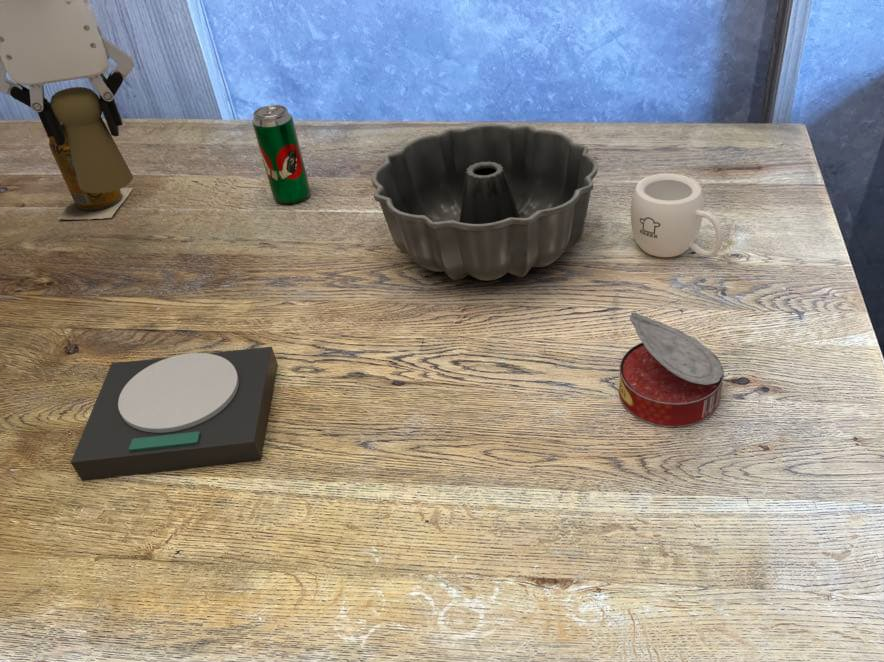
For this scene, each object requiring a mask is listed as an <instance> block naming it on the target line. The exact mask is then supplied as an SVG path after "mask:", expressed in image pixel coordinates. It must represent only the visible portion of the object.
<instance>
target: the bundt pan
mask: <svg viewBox="0 0 884 662" xmlns="http://www.w3.org/2000/svg"><path fill="white" fill-rule="evenodd" d="M588 150H589V147H588V145H586V144H582V143H578V142H574V140H573V139H572V138H571V137H570V136H568V135H567V134H565V133H562V132H559V131H557V130H556V131H555V130H551V129H549V130H548V129H538V128H536V127H533V126H532V125H529V124H523V125H520V124H519V125H508V124H501V123H500V124H499V123H483V124H477V125H470V126H467V127H464V128H456V127H455V128H454V127H451V128H450V127H449V128H446V129H444V130H442V131H441V132H439V133H433V134H428V135H424V136H420V137H417V138H414V139H412V140H410V141H408V142H406V143H405V144H404V145H402V146H401V147H400V148H399V150H396V151H393V152H390V153H386V154H385V155H384V156H383V163H382V164H380V165H379V166H378V167H376V168H375V169H374V170H373V172H372V174H371V183H372V186H373V188H374V189H375V190H374V192H373V199H374V200H375V201H376V202H379V206H380V208H381V211H382V214H383V217H384V219H385V222H386V224H387V228H388V230H389V233H390V235H391V239H392V240H393V243H394V244H395V246H396V248H398V250H400V251H401V252H402V253H403V254H405V255H407V256H409V257H410V258H411V259H412V260H413V261H414V262H415V263H416V264H417V265H419V266H420V267H422V268H424V269H425V270H428V271H432V272H444V273H445V274H446V275H447V277H449V278H450V279H452V280H456V281H458V280H462V279H464V278H465V277H467V276H471V277H472V278H473V279H477V280H480V281H494V280H497V279H500V278H502V277H504V276H505V275H506V274H507V273H508V274H511V275H513V276H515V277H518V278H523V277H525V276H526V275H527V274H528V273H529V271H530V270H531V269H532V268H543V267H546V266H548V265H552V264H553V263H555V261H557V260H558V259H559V258H560V257H561V256H562V255H563V253H565V252H567V251H569V250H570V249H572V248H573V247H575V246H576V245H577V244H578V243H579V241H580V239H582V238H581V237H582V236H583V233H584V229H585V223H586V217H587V215H588V209H589V204H590V198H591V191H593V190H594V182H593V180H594V179H595V177H596V176H597V174H598V168H599V167H598V165H599V164H598V162H597V160H596V159H595V158H594V157H593V156H592V155H591V154H589V151H588Z"/></svg>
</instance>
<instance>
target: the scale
mask: <svg viewBox="0 0 884 662" xmlns="http://www.w3.org/2000/svg"><path fill="white" fill-rule="evenodd" d="M277 370H278V361H277V358H276V355H275V352H274V349H273V347H272V346H264V347H256V348H246V349H244V348H243V349H236V350H225V351H217V352H215V351H214V352H207V353H206V352H192V353H182V354H177V355H173V356H169V357H159V358H150V359H149V358H148V359H141V360H140V359H139V360H130V361H129V360H128V361H121V362H120V361H119V362H112V363H111V364H110V366H109V369H108V371H107V373H106V376H105V378H104V381H103V382H102V385H101V388H100V390H99V392H98V395H97V397H96V400H95V402H94V405H93V407H92V409H91V412H90V415H89V417H88V419H87V422H86V424H85V427H84V429H83V431H82V433H81V436H80V439H79V441H78V444H77V446H76V448H75V451H74V453H73V455H72V458H71V460H70V464H71V466H72V467H73V469H74V470H75V472H76V474H77V475H78V477H79V478H80V480H81V481H88V480H99V479H108V478H115V477H124V476H134V475H142V474H151V473H159V472H160V473H161V472H167V471H168V472H169V471H176V470H178V471H179V470H185V469H186V470H187V469H193V468H195V469H196V468H204V467H213V466H221V465H230V464H239V463H247V462H257V461H262V456H263V450H264V445H265V438H266V435H267V434H266V433H267V427H268V422H269V417H270V416H269V415H270V409H271V405H272V399H273V393H274V389H275V388H274V387H275V383H276V376H277Z"/></svg>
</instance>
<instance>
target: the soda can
mask: <svg viewBox="0 0 884 662" xmlns="http://www.w3.org/2000/svg"><path fill="white" fill-rule="evenodd" d="M252 116H253V119H252V127H253V130H254V135H255V138H256V141H257V145H258V148H259V152H260V156H261V158H262V163H263V166H264V169H265V174H266V178H267V181H268V184H269V188H270V192H271V194H272V197H273V199H274V200H275V201H277V202H278V203H280V204H282V205H283V204H284V205H293V204H298V203H301V202H303V201H305V200H306V199H307V198H308V197H309V195H310V193H311V187H310V183H309V179H308V174H307V171H306V167H305V162H304V159H303V155H302V150H301V146H300V143H299V138H298V134H297V130H296V126H295V122H294V118H293V115H292V114H291V113H290V112H289V110H288V108H287V107H286V106H284V105H281V104H270V105H265V106H261V107H259V108H257V109H255V110H253V113H252Z"/></svg>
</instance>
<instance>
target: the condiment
mask: <svg viewBox="0 0 884 662" xmlns="http://www.w3.org/2000/svg"><path fill="white" fill-rule="evenodd" d="M60 124H61V126H62V129H63V131H64V134H65V142H64V144H63V145H60V146H58V145H57V143H56V141H55V139H54V136H52V137H48V135H47V134H46V137H47V139H48V147H49V149H50V152H51V154H52V156H53V159H54V161H55V162H56V165H57V167H58V169H59V171H60V174H61V176H62V178H63V180H64V182H65V185H66V187H67V189H68V191H69V194H70V196H71V198H72V201H71V202H70V203H69V204H68V205H66V207H65V209H64V210H63V212H61V214H59V215H58V217H57V218H56V220H64V221H65V220H77V221H79V220H88V221H90V220H94V219H98V220H99V219H100V220H101V219H111V218H113V216H114V215H115V213H117V210H118V209H119V208H120V207H121V205H122V204H123V203H124V202H125V201H126V199H127V198H128V196H130V194H131V193H132V192H133V189H134V188H133V187H123V188H120V189H118V190H115V191H111V192H106V193H87V192H84V191H82V190H81V188H80V186H79V182H78V178H77V174H76V171H75V167H74V163H73V159H72V155H71V152H70V148H69V144H68V140H67V137H66V133H65V129H64V125H63V124H62V123H61V122H60Z"/></svg>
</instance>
